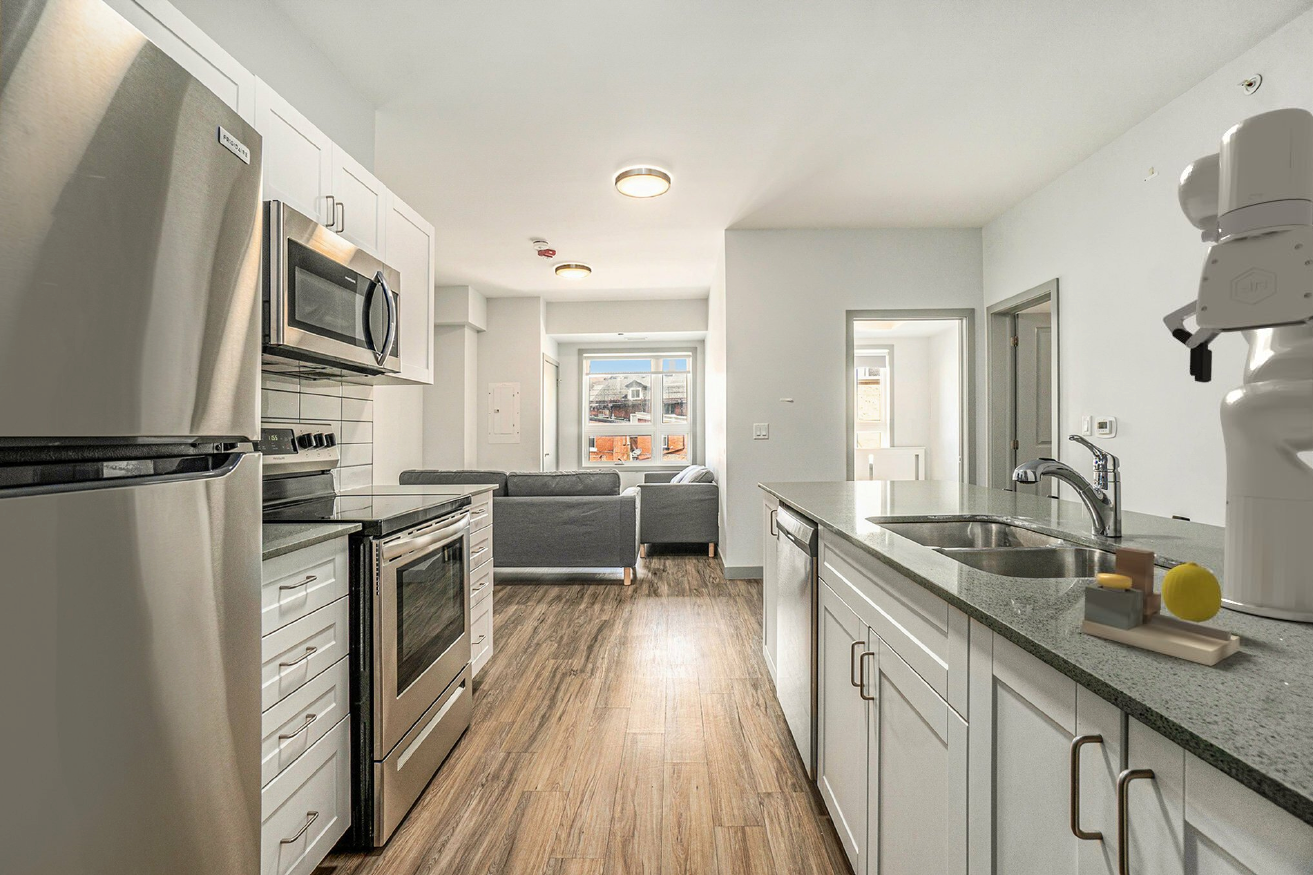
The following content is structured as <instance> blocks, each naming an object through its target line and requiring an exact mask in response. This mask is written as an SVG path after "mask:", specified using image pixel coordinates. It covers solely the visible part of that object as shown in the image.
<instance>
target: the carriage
mask: <svg viewBox="0 0 1313 875" xmlns="http://www.w3.org/2000/svg"><path fill="white" fill-rule="evenodd" d="M1114 566H1115V567H1114V574H1116V575H1122V576H1126V577H1130V578H1132V589H1138V590H1143V621H1147V622H1148V621H1151V614H1152V613H1156V614H1160V615H1161V610H1162V592H1161V593H1160V592H1155V591H1154V586H1155V585H1154V584H1155V583H1154V580H1155V578H1154V577H1155V551H1152V550H1146V549H1140V548H1139V549H1138V548H1131V547H1126V546H1125V547H1124V546H1122V547H1119V548H1118V547H1117V548H1115V564H1114Z"/></svg>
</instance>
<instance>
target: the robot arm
mask: <svg viewBox="0 0 1313 875" xmlns="http://www.w3.org/2000/svg"><path fill="white" fill-rule="evenodd" d="M1177 185H1178V186H1177V196H1178V202H1179V206H1180V208H1181V210H1182V212H1183V214H1184V216H1185V217H1186V219H1187V220H1188V221H1189V223H1190V224H1191V225H1192V226H1193V227H1194V228H1196V229H1198V230H1201V231H1202V232H1201V236H1200V237H1201V238H1200V239H1201V242H1202V243H1207V242H1211V243H1212V242H1215V243H1216V244H1213V245H1211V246H1208V248H1207V249H1206V253H1205V256H1204V259H1203V263H1202V267H1201V272H1200V279H1199V285H1198V292H1197V298H1196V299H1195V300H1193V301H1192V302H1189V303H1188V304H1185V305H1184V306H1181V307H1180V308H1178V309H1177V310H1175V311H1172V312H1171V313H1169V314H1167V315H1165V316H1164V317H1163V318H1162V322H1163V324H1164V325H1165V326H1166V327H1167V329H1168V330H1169V332H1170V333H1171V335H1172V337H1173V338H1174V339H1175V340H1177V341H1178V342H1180V343H1182V344H1183V345H1184V346H1186V347H1187V348H1188V349H1190V350H1189V375H1190V376H1192V377H1194V381H1195V382H1198V383H1209V382H1212V370H1213V368H1212V365H1213V364H1212V363H1213V351H1212V350H1211V349H1209V345H1210V344H1212V343H1213V341H1214V340H1215V339H1216V338H1217V337H1218V336H1220V335H1221V334H1222V333H1234V332H1236V333H1237V332H1240V333H1241V335H1242V337H1243V338H1244V340H1245V342H1246V343H1247V344H1248V351H1247V355H1246V359H1245V360H1246V361H1245V364H1244V368H1243V369H1244V370H1243V377H1242V378H1243V379H1242V382H1243V384H1242V385H1240V386H1237V387H1235V388H1232V389H1231V390H1229V391H1228V392H1227V393H1226V394H1225V395H1224V396H1223V397H1222V400H1221V402H1220V407H1219V418H1220V425H1221V431H1222V435H1223V442H1224V448H1225V460H1226V462H1225V463H1226V494H1225V497H1226V498H1225V522H1224V523H1225V524H1224V525H1225V526H1224V528H1225V529H1224V530H1225V531H1224V556H1223V557H1224V558H1223V559H1224V561H1223V563H1224V565H1223V589H1222V588H1220V589H1221V595H1222V601H1221V606H1220V607H1224V608H1227V609H1231V610H1234V611H1238V612H1243V613H1247V614H1252V615H1257V616H1260V617H1267V618H1268V617H1269V618H1273V619H1279V620H1286V621H1287V620H1288V621H1296V622H1303V623H1304V622H1305V623H1313V468H1312V467H1311V466H1310V465H1308V464H1307V463H1306V462H1304V460H1302V459H1301V458H1300V457H1299V455H1298V453H1300V452H1301V453H1302V452H1313V114H1312V113H1311V112H1310V111H1308V110H1307V109H1303V108H1298V107H1296V108H1295V107H1291V108H1289V107H1287V108H1281V109H1275V110H1270V111H1266V112H1263V113H1259V114H1256V115H1253V116H1250V117H1247V118H1245V119H1244V120H1241V121H1239V122H1238V123H1236V124H1234V125H1233V126H1231V127H1230V128H1229V129H1228V130H1227V131H1226V132H1225V133H1224V135H1223V136H1222V138H1221V140H1220V147H1219V152H1216V153H1212V154H1209V155H1206V156H1202V157H1199V158H1198V159H1195V160H1194V161H1193V162H1191V163H1189V164H1188V166H1186V167H1185V169H1184V170H1183V172H1182V173H1181V176H1180V178H1179V180H1178V184H1177ZM1192 316H1195V322H1196V325H1197V326H1198V327H1199V329H1197V330H1196V331H1195V332H1193V333H1192V332H1190V331H1189V330H1187V329H1186V327H1185V325H1184V321H1185V320H1187V319H1189V318H1191V317H1192Z"/></svg>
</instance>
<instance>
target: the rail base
mask: <svg viewBox="0 0 1313 875" xmlns="http://www.w3.org/2000/svg"><path fill="white" fill-rule="evenodd" d="M1084 590H1085V591H1084V613H1083V615H1084V618H1083V619H1082V621H1081V622H1082V623H1081V633H1083V634H1087V635H1091V636H1095V637H1098V638H1102V639H1107V640H1110V641H1115V642H1119V643H1122V644H1125V645H1129V646H1132V647H1136V648H1140V649H1145V650H1148V651H1153V652H1156V653H1159V654H1163V655H1167V656H1171V657H1175V658H1179V659H1182V660H1186V661H1190V662H1194V663H1198V664H1200V665H1201V664H1202V665H1205V666H1210V667H1211V666H1214V665H1216V664H1217V663H1219V662H1221V661H1224V660H1225V659H1227V658H1228V657H1230V656H1232V655H1233V654H1235V653H1237V652H1239V651H1240V641H1241V640H1240V636H1236V635H1233V634H1232V629H1228V628H1225V627H1219V626H1215V625H1210V624H1206V623H1202V622H1199V623H1197V622H1192V621H1188V620H1183V619H1180V618H1178V617H1174V616H1169V615H1165V614H1161V613H1160V614H1156V613H1152V614H1151V621H1148V622H1147V621H1143V590H1138V589H1132V588H1130V589H1125V592H1123V593H1122V592H1117V591H1112V590H1107V589H1103V585H1100V584H1098V583H1097V582H1096V583H1094V584H1089V585H1085V586H1084Z"/></svg>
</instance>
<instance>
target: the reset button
mask: <svg viewBox="0 0 1313 875" xmlns="http://www.w3.org/2000/svg"><path fill="white" fill-rule="evenodd" d="M1096 575H1097V577H1096V584H1097V583H1098V584H1100V585H1103V589H1107V590H1112V591H1117V592H1122V593H1123V592H1125V589H1130V588H1132V578H1130V577H1126V576H1122V575H1116V574H1115V573H1097V574H1096Z"/></svg>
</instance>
